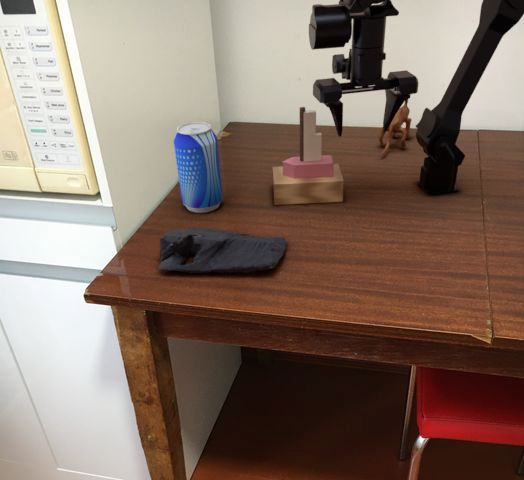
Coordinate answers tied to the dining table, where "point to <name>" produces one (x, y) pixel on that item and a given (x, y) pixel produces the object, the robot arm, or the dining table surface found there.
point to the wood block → (307, 188)
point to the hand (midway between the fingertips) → (362, 133)
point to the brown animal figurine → (397, 127)
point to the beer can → (198, 167)
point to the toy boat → (309, 151)
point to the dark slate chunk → (219, 251)
